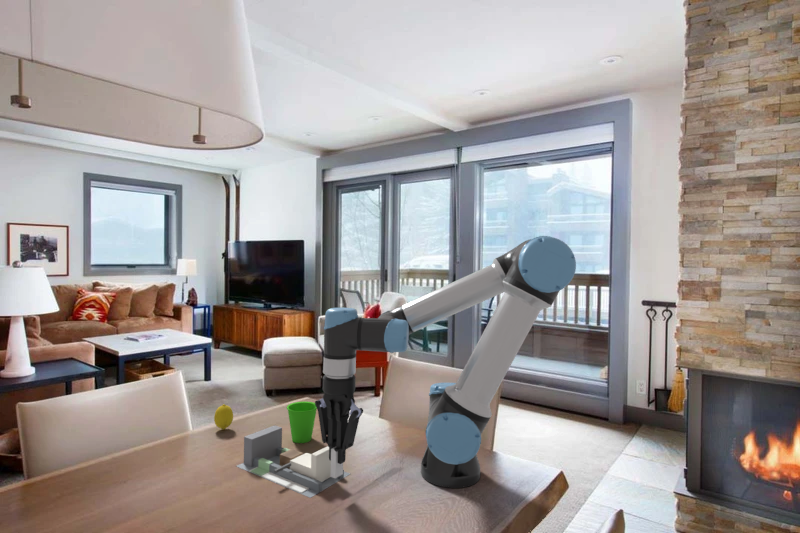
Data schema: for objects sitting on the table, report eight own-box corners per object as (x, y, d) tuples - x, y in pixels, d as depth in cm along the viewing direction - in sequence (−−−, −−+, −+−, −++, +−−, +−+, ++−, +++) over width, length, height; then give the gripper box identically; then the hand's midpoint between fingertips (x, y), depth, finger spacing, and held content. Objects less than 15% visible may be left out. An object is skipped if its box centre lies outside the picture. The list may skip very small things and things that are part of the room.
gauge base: (350, 478, 113) (351, 445, 113) (310, 503, 101) (310, 466, 101) (278, 451, 127) (278, 422, 127) (235, 470, 115) (236, 438, 115)
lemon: (236, 429, 143) (237, 403, 143) (221, 434, 138) (221, 408, 138) (225, 425, 146) (225, 400, 146) (210, 430, 141) (210, 405, 141)
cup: (313, 450, 129) (314, 411, 128) (282, 449, 129) (282, 410, 129) (320, 437, 138) (320, 401, 137) (290, 437, 138) (291, 400, 138)
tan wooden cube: (302, 468, 115) (302, 452, 115) (290, 474, 112) (291, 458, 112) (291, 464, 117) (291, 448, 117) (279, 470, 114) (279, 454, 114)
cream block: (331, 476, 111) (332, 447, 110) (299, 495, 102) (299, 463, 101) (306, 466, 115) (306, 439, 115) (273, 483, 106) (273, 454, 106)
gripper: (371, 376, 105) (368, 477, 106) (329, 367, 112) (326, 462, 113) (351, 383, 99) (348, 490, 99) (307, 373, 106) (304, 473, 106)
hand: (336, 475), depth 106 cm, fingers closed
